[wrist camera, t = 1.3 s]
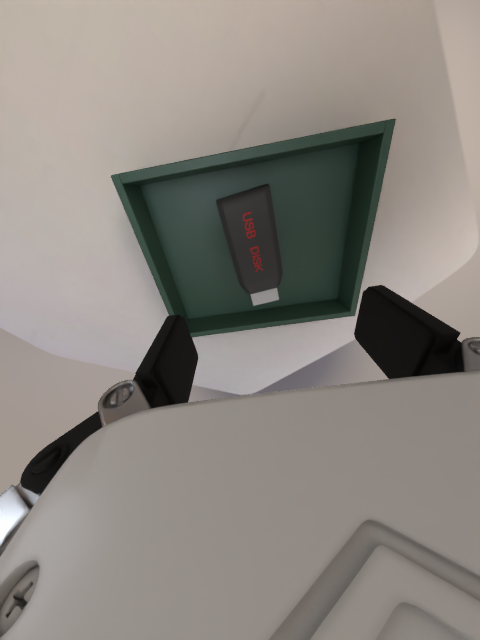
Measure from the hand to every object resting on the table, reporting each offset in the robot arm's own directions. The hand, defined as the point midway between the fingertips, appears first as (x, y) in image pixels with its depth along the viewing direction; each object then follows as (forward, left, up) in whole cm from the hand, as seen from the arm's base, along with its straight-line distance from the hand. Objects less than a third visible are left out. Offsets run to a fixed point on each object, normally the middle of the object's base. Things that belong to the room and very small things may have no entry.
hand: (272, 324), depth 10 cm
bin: (0, 0, -15) cm, 15 cm away
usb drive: (0, 0, -15) cm, 15 cm away
